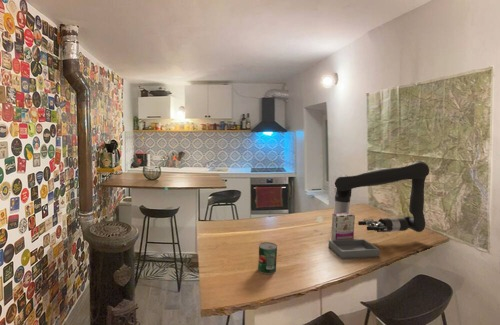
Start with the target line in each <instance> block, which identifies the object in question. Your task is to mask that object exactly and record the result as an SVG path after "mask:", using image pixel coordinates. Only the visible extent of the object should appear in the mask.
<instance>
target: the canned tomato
mask: <svg viewBox="0 0 500 325" xmlns="http://www.w3.org/2000/svg"><path fill="white" fill-rule="evenodd" d="M277 252H278V244H276V243H274V242H269V241H268V242H267V241H264V242H261V243H259V244H258V263H257V266H258V267H257V270H258V271H259V272H260V273H261V274H266V275H270V274H274V273H276V272H277V258H278V256H277V255H278V253H277Z"/></svg>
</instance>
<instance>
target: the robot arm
mask: <svg viewBox="0 0 500 325" xmlns="http://www.w3.org/2000/svg"><path fill="white" fill-rule="evenodd" d="M429 174H430V168H429V165H428V164H427V163H426V162H425V161H423V160H422V161H421V160H417V161H414V162H413V163H411V164H408V165H404V166H399V167H384V168H377V169H371V170H369V171H365V172H362V173H360V174H359V173H358V174H356V175H347V174H342V175H340V176H338V177H337V178H336V179H335V181H334V187H335V188H336V190H335V191H336V193H335V196H334V207H333V214H338V213H350V208H351V206H350V205H351V197H352V190H353V189H356V188H357V189H358V188H362V187H374V186H380V185H386V184H391V183H396V182H398V181H400V182H401V181H406V180H411V190H410V196H409V208H408V212H409V213H410V214H411V215H412V216H405V217H402V218H400V217H398V218H397V217H395V218H393V217H380V218H379V220H374V219H373V218H372V219H370V218H369V219H368V218H367V219H366V218H364V219H363V220H359V221H357V225H358V226H366V231H375V232H377V233H391V232H392V233H394V232H405V231H407V230H408V229H411V230H412V231H414V232H417V233H421V232H423V231H424V230H425V228H426V219H425V214H424V207H425V184H426V182H425V181H426V179H427V178H426V177H428V175H429Z"/></svg>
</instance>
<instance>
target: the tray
mask: <svg viewBox="0 0 500 325" xmlns="http://www.w3.org/2000/svg"><path fill="white" fill-rule="evenodd" d="M328 249H330V251H332V253H334V254H335V255H336V256H337V257H338V258H339V259H341V260H352V259H374V258H375V259H376V258H380V252H381V250H380V249H379V248H378V247H377V246H375V245H374V244H372V243H371V242H370V241H368V240H366V239H365V238H356V239H355V238H353V239H348V240H331V239H329V240H328Z"/></svg>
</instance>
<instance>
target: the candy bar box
mask: <svg viewBox="0 0 500 325" xmlns="http://www.w3.org/2000/svg"><path fill="white" fill-rule="evenodd" d="M355 216H356V215H355V214H354V213H352V212H349V213H338V214H334V213H332V218H331V220H332V221H331V236H330V237H331V238H330V240H348V239H355V238H354V234H355V220H356V217H355Z"/></svg>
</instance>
